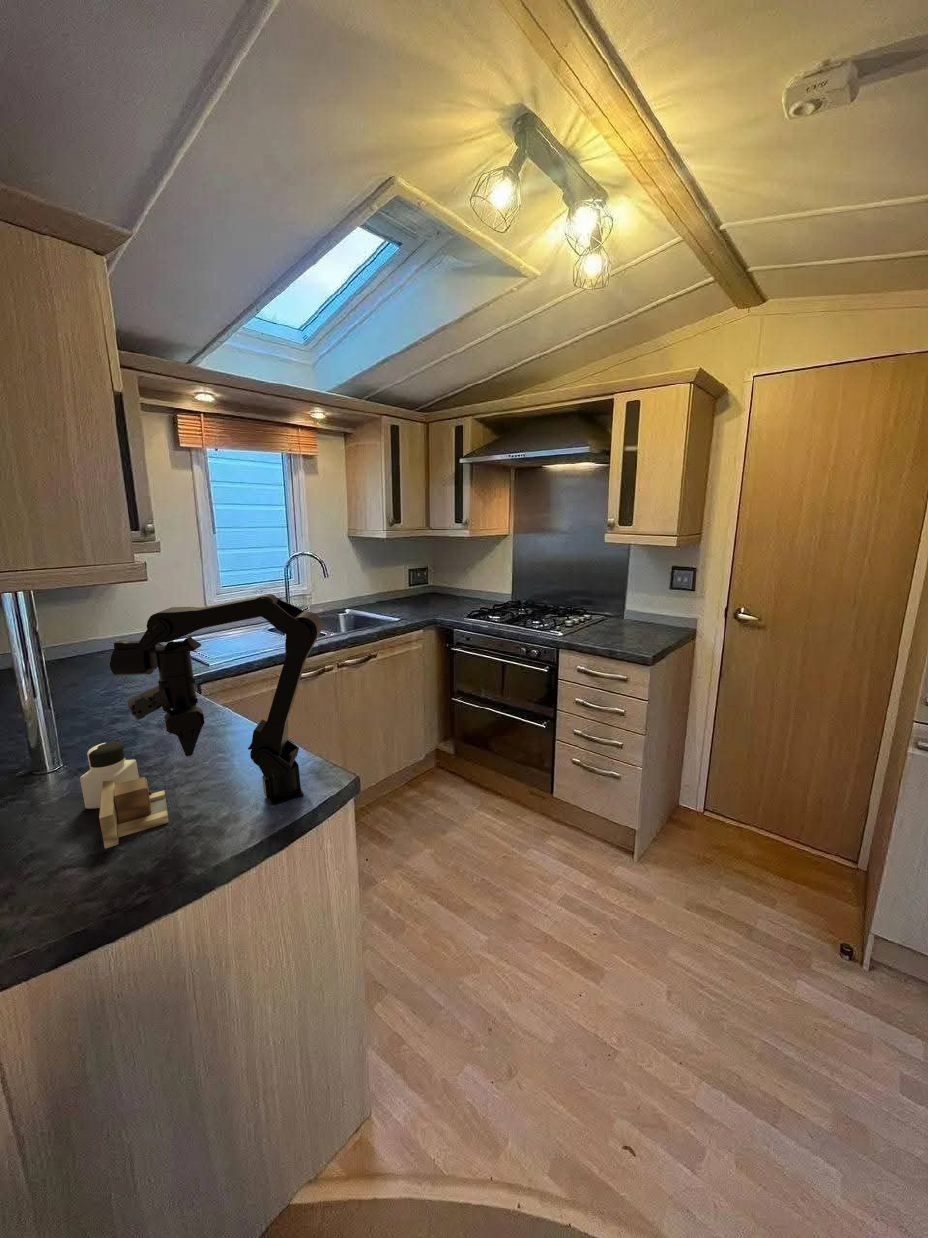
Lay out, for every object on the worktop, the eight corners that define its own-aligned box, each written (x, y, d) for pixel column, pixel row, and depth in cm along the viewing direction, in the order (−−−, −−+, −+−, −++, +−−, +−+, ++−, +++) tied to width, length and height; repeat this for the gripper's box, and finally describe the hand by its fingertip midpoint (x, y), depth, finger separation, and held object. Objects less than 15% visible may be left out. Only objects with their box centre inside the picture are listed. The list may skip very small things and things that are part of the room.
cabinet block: (153, 803, 102) (149, 776, 101) (154, 814, 98) (149, 786, 97) (119, 812, 99) (114, 784, 98) (119, 825, 95) (114, 796, 94)
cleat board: (164, 791, 108) (160, 765, 107) (169, 828, 95) (165, 800, 93) (107, 806, 102) (103, 780, 101) (104, 848, 89) (99, 818, 88)
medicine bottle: (141, 789, 109) (133, 737, 107) (120, 808, 102) (111, 753, 100) (108, 790, 109) (98, 739, 106) (84, 809, 102) (74, 754, 99)
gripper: (127, 669, 102) (138, 740, 105) (126, 694, 86) (140, 778, 89) (189, 659, 108) (198, 727, 111) (199, 682, 92) (209, 760, 95)
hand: (186, 747), depth 101 cm, fingers open, 9 cm apart
